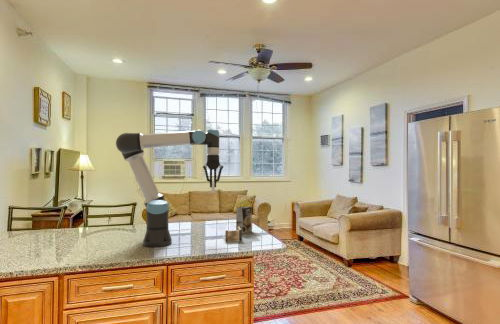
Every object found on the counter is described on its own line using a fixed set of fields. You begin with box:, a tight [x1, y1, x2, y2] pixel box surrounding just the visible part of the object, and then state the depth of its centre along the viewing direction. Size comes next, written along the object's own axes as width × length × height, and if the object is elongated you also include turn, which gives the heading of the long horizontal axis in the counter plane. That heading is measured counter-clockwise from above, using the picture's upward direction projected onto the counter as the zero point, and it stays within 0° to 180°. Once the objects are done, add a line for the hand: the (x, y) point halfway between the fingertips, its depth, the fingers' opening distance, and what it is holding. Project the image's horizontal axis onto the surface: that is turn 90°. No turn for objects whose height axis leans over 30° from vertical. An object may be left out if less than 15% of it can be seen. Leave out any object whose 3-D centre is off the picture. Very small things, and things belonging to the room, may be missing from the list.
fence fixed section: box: [224, 229, 243, 243], centre depth 180 cm, size 10×2×6 cm, turn 103°
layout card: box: [221, 234, 261, 244], centre depth 186 cm, size 20×16×1 cm
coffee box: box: [235, 206, 253, 234], centre depth 206 cm, size 9×6×16 cm
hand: (212, 192), depth 196 cm, fingers closed
